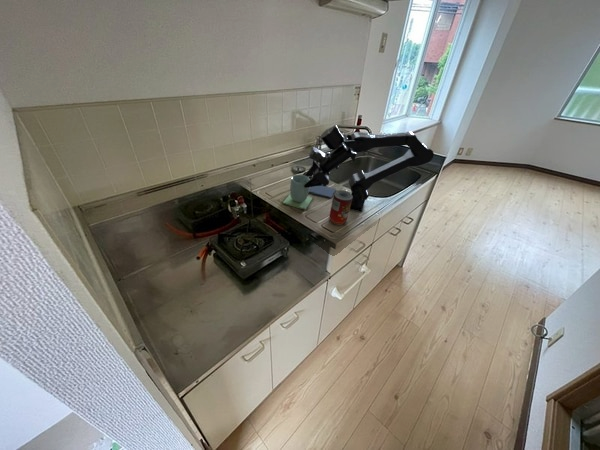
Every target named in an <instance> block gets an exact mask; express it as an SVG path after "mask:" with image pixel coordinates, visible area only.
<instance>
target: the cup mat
mask: <svg viewBox="0 0 600 450" xmlns="http://www.w3.org/2000/svg"><path fill="white" fill-rule="evenodd" d="M312 200H313V197H311V196H309V195H308V196H307V199H306V200H305V201H303V202H295V201H294V200H293V199H292V198H291V195H290V194H288V195H287V197H286V198H285V199H284V200H283V201H282V204H283V205H284V206H285V205H286V206H289V207H293V208H296V209H301V210H303V211H305V210H306V209H307V208H308V206H309V205H310V204H311V201H312Z"/></svg>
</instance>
